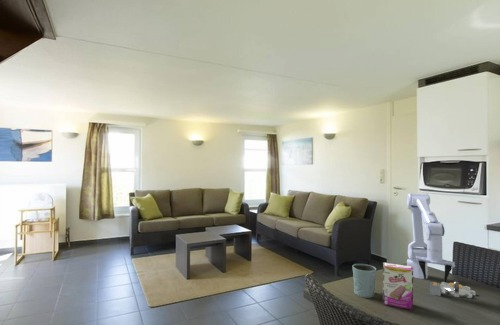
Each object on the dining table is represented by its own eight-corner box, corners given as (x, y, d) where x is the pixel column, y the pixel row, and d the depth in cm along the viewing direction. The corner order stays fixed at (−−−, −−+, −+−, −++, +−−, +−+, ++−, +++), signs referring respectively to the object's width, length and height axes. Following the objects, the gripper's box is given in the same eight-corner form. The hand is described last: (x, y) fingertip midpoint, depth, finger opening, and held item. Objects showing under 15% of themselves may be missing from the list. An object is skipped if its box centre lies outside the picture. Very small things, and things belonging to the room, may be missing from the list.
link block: (429, 294, 127) (429, 284, 127) (430, 291, 130) (429, 281, 131) (440, 297, 125) (440, 286, 125) (440, 293, 128) (440, 283, 128)
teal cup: (348, 293, 129) (348, 267, 129) (357, 287, 137) (357, 261, 137) (371, 300, 122) (371, 272, 123) (379, 293, 130) (379, 266, 130)
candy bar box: (382, 305, 118) (382, 265, 119) (382, 300, 123) (382, 262, 123) (413, 310, 114) (413, 269, 114) (412, 305, 118) (412, 265, 119)
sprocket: (438, 293, 128) (437, 280, 128) (438, 282, 140) (437, 271, 140) (476, 300, 121) (476, 287, 121) (473, 289, 132) (473, 277, 132)
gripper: (415, 249, 129) (415, 279, 128) (454, 254, 121) (455, 286, 120) (416, 245, 135) (416, 274, 134) (454, 250, 127) (454, 281, 126)
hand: (435, 280), depth 128 cm, fingers open, 7 cm apart
